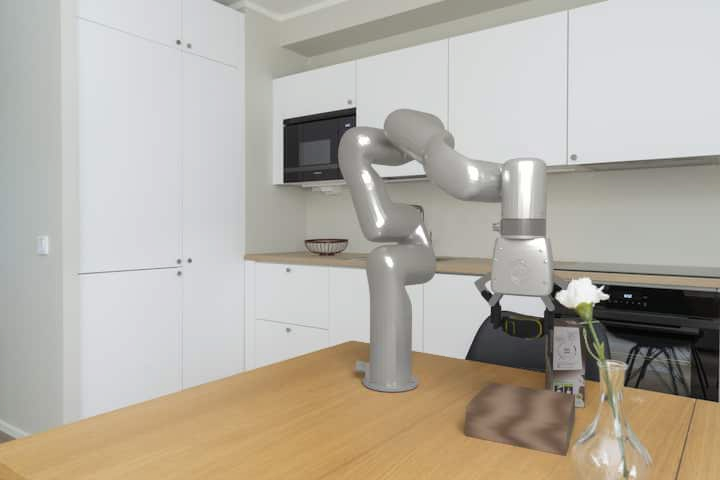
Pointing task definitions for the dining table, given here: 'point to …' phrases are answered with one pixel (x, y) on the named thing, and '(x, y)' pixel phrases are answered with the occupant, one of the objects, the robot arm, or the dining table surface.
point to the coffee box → (566, 359)
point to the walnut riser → (522, 417)
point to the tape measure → (523, 326)
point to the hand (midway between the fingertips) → (521, 329)
